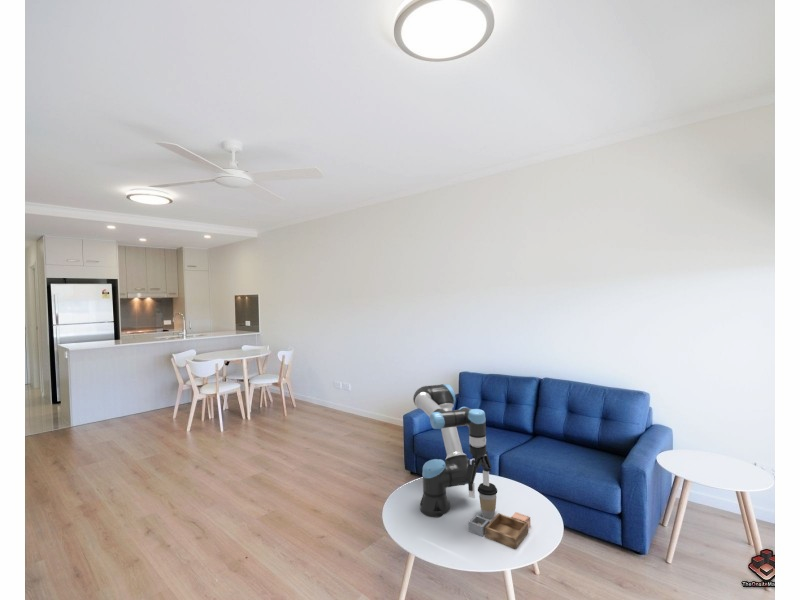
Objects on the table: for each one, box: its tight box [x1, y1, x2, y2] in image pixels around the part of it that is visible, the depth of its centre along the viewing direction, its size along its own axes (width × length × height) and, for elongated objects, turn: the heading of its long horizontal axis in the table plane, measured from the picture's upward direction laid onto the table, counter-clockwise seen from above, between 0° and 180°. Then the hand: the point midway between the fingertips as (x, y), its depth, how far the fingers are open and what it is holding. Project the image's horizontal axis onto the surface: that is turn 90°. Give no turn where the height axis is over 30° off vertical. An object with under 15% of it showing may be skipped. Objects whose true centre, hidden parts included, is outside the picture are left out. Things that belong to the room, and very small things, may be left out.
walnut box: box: [484, 513, 529, 550], centre depth 172 cm, size 14×14×5 cm
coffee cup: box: [477, 482, 498, 520], centre depth 187 cm, size 9×9×15 cm
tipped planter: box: [510, 511, 531, 530], centre depth 178 cm, size 7×5×5 cm
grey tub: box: [468, 514, 491, 537], centre depth 176 cm, size 7×7×5 cm
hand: (479, 491), depth 175 cm, fingers open, 13 cm apart
